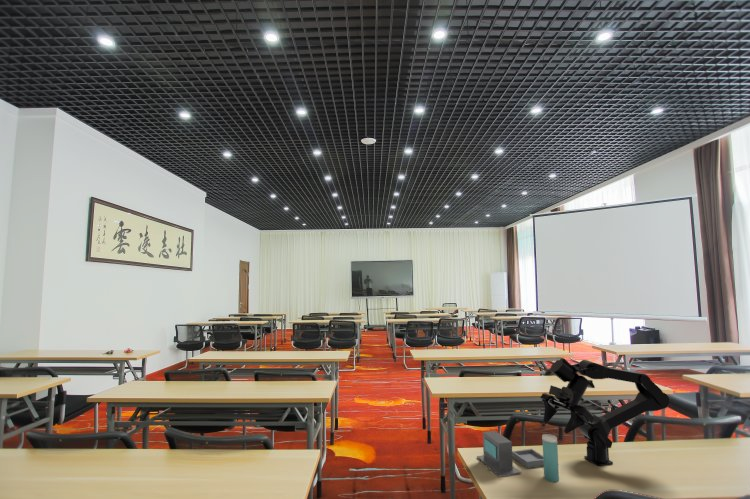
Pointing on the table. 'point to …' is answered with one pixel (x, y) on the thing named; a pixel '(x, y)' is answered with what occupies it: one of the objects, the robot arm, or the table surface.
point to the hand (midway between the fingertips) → (554, 427)
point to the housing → (498, 454)
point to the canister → (550, 457)
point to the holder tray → (528, 458)
